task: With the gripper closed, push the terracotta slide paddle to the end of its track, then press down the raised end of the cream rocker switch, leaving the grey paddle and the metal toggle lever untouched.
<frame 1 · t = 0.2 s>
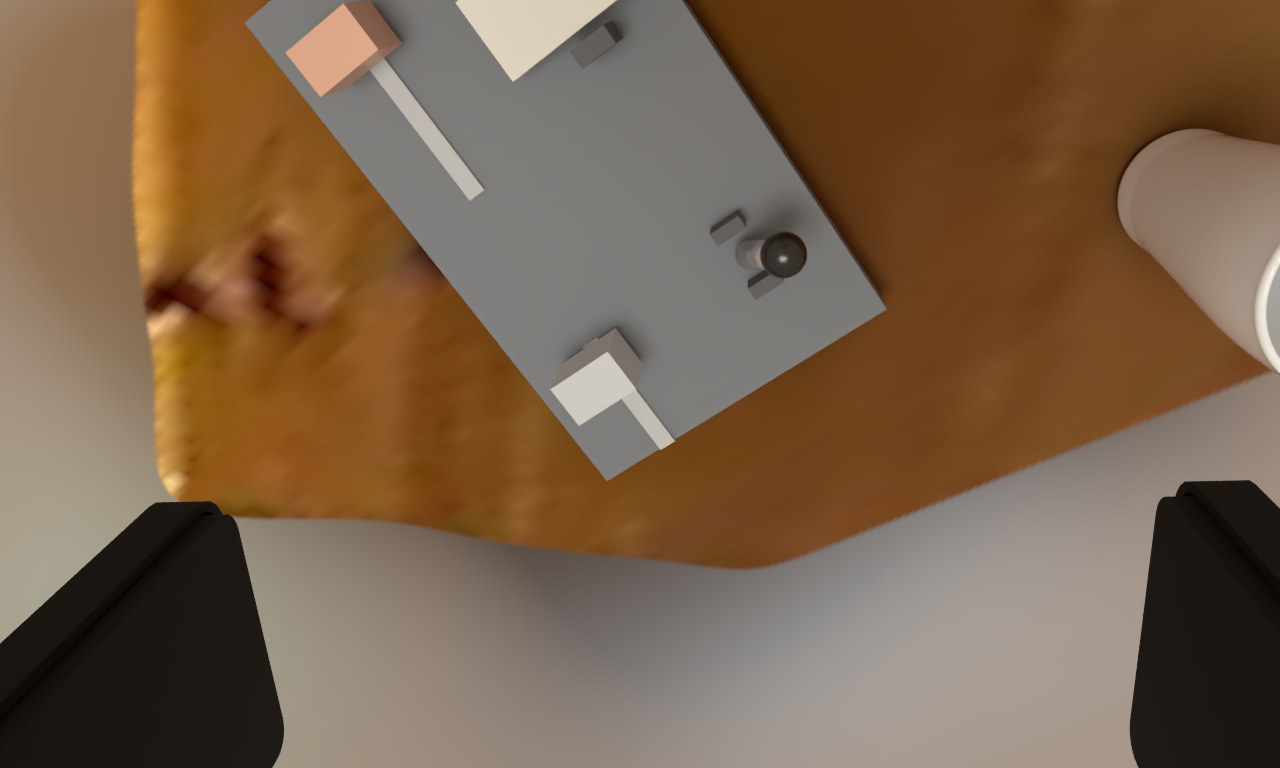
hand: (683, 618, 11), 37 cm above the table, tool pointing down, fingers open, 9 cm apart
slide paddle: (345, 48, 41), point 4 cm above the table, slide at 0.0 cm
switch panel: (580, 161, 46), on the table
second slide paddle: (597, 376, 45), point 4 cm above the table, slide at 0.0 cm
toggle lever: (769, 254, 42), point 5 cm above the table, hinge at -25.0°
drinking glass: (1176, 189, 44), on the table
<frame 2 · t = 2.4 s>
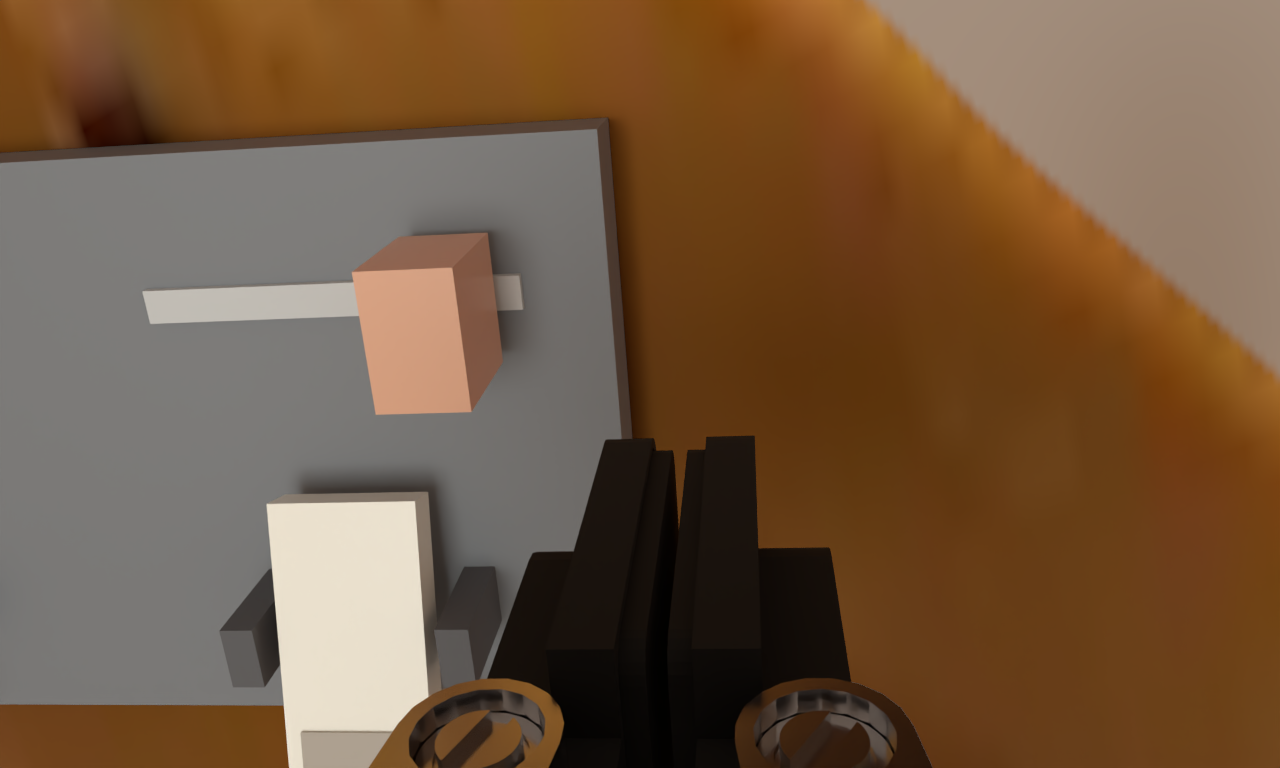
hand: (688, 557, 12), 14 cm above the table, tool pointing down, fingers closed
slide paddle: (433, 320, 22), point 4 cm above the table, slide at 0.0 cm
switch panel: (171, 428, 28), on the table
rocker switch: (358, 640, 25), point 4 cm above the table, hinge at 14.0°
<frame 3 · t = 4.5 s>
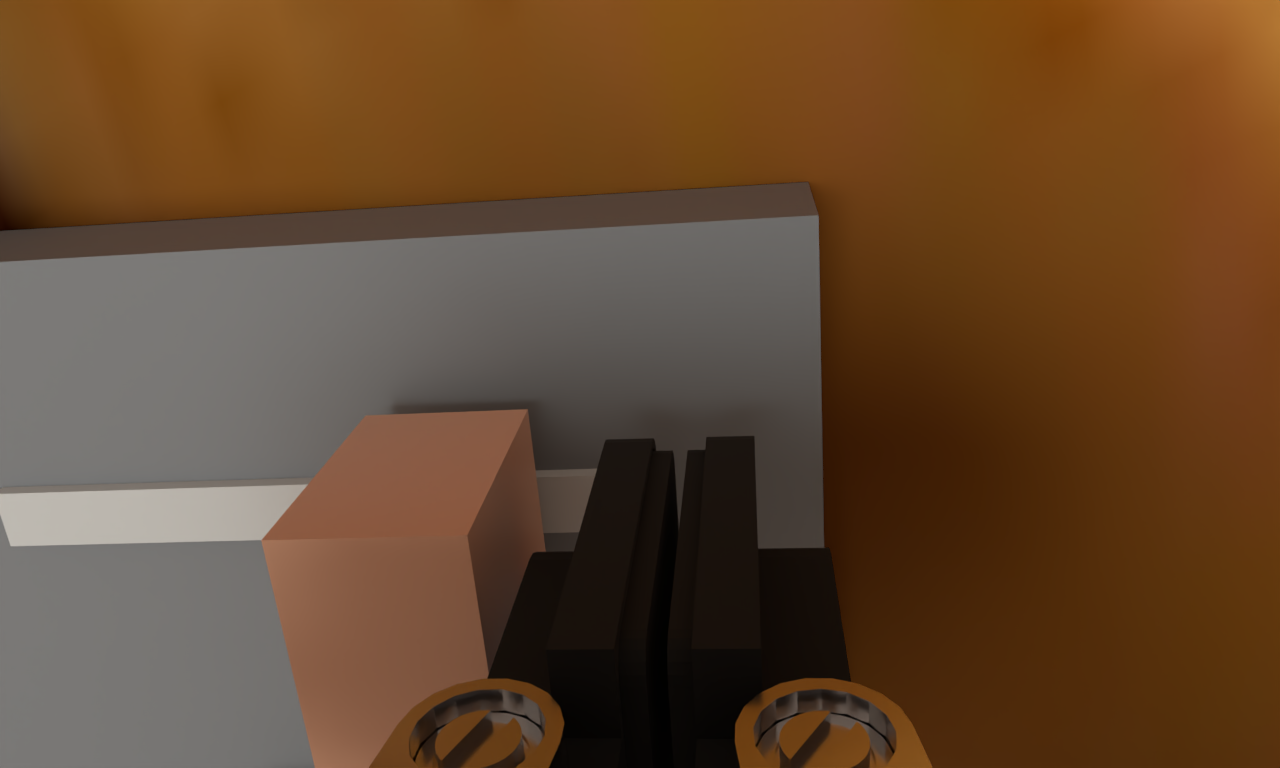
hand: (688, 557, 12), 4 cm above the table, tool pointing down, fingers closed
slide paddle: (430, 588, 12), point 4 cm above the table, slide at 1.0 cm, touching gripper
switch panel: (73, 667, 18), on the table
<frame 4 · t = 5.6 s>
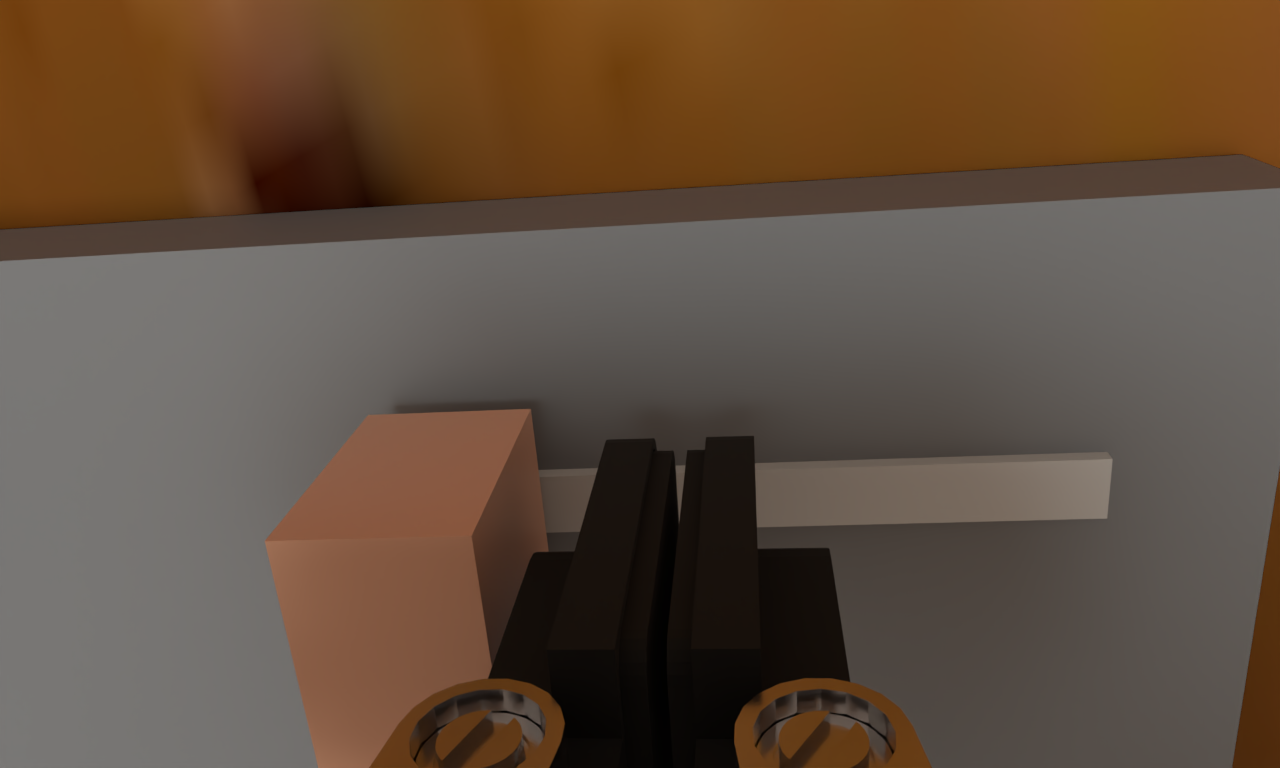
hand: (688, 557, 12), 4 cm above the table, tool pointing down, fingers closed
slide paddle: (433, 588, 12), point 4 cm above the table, slide at 6.3 cm, touching gripper
switch panel: (379, 663, 17), on the table
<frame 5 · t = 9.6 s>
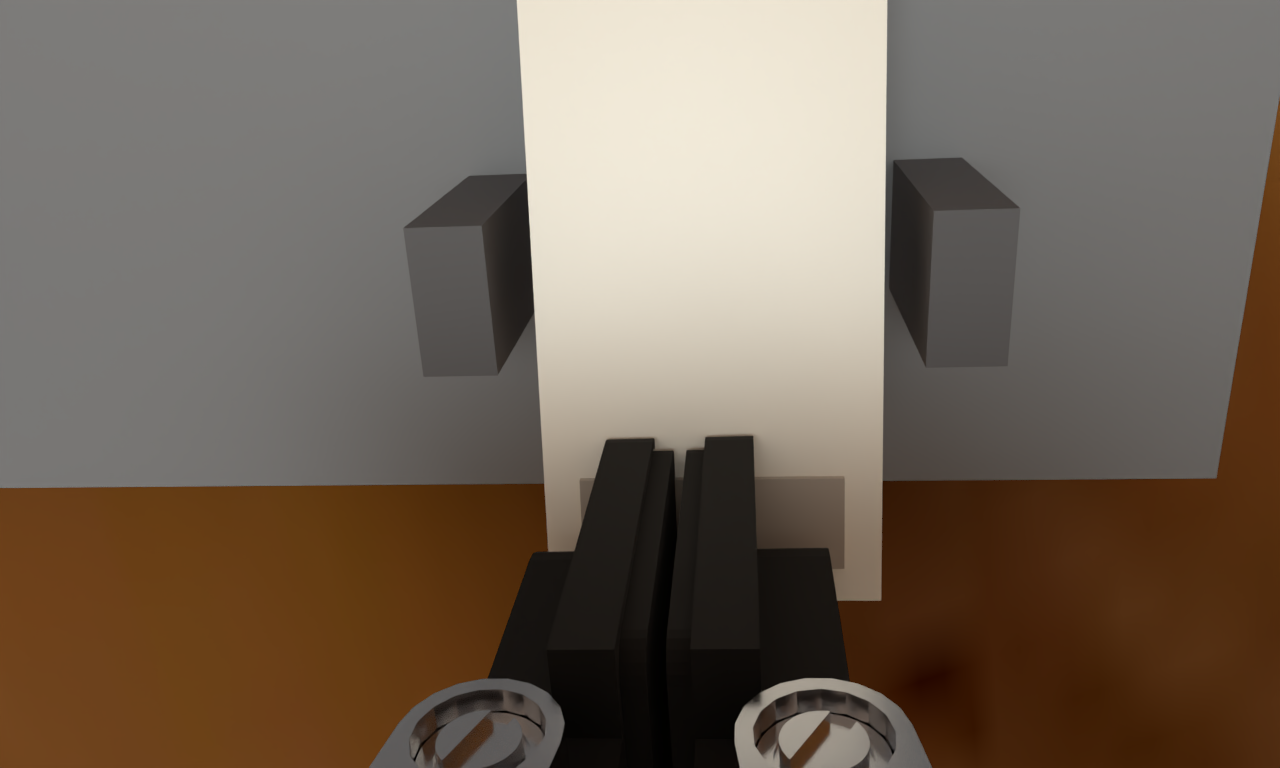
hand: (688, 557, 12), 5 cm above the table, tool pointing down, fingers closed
rocker switch: (707, 275, 11), point 4 cm above the table, hinge at 9.8°, touching gripper
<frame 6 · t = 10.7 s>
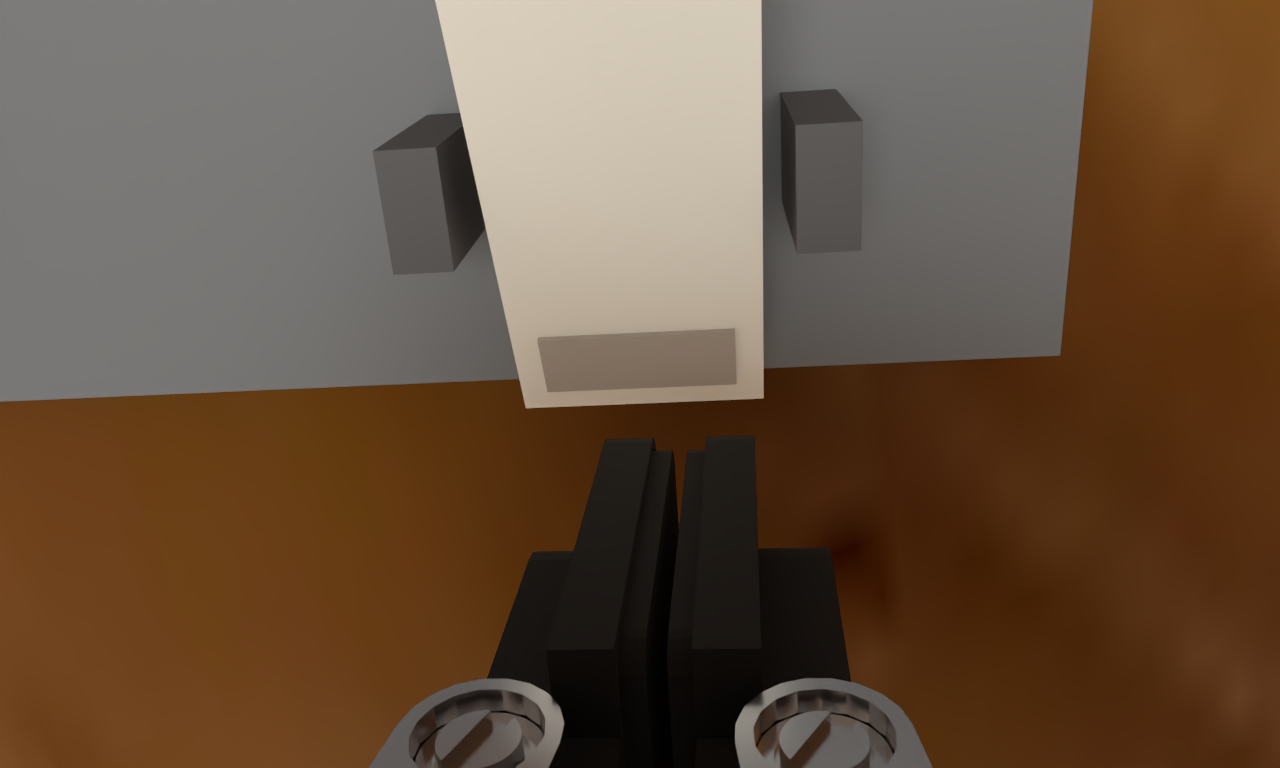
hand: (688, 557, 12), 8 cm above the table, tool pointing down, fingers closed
rocker switch: (622, 188, 14), point 4 cm above the table, hinge at -20.1°
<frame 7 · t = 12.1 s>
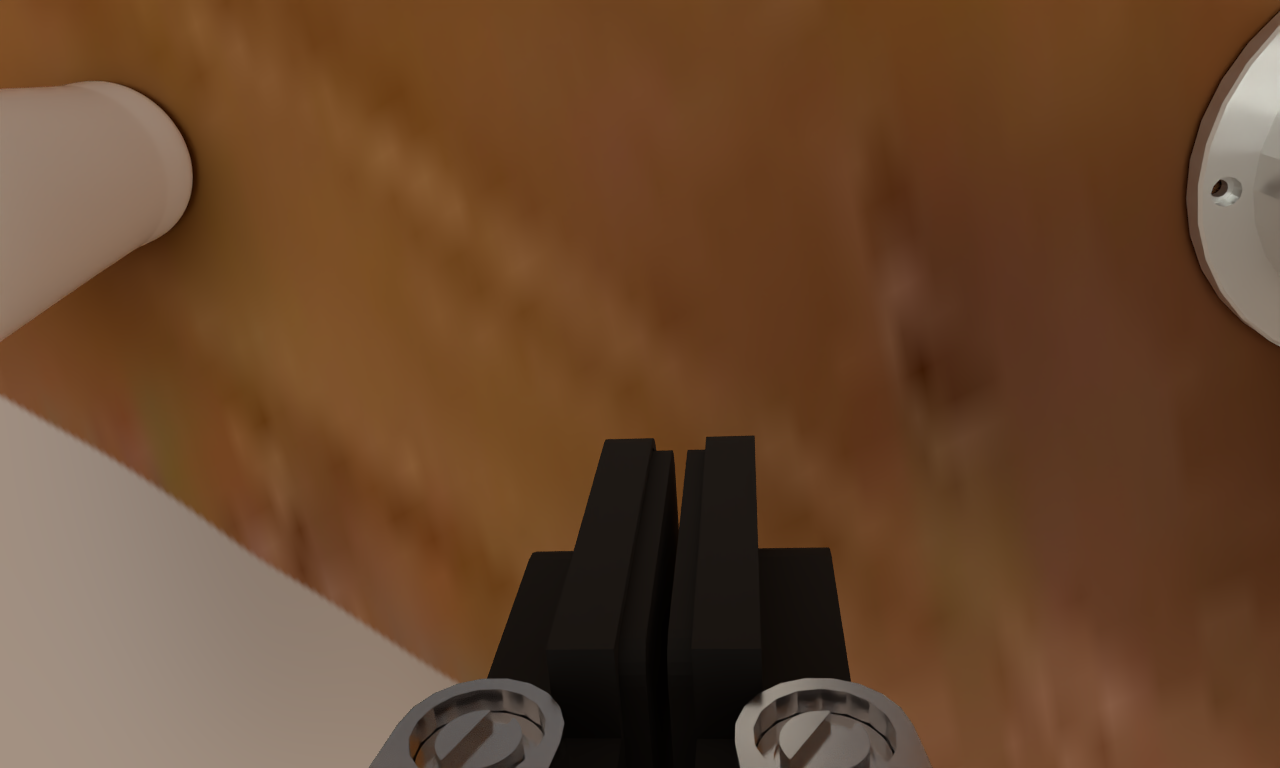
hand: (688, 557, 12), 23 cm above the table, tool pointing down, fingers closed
drinking glass: (125, 160, 35), on the table
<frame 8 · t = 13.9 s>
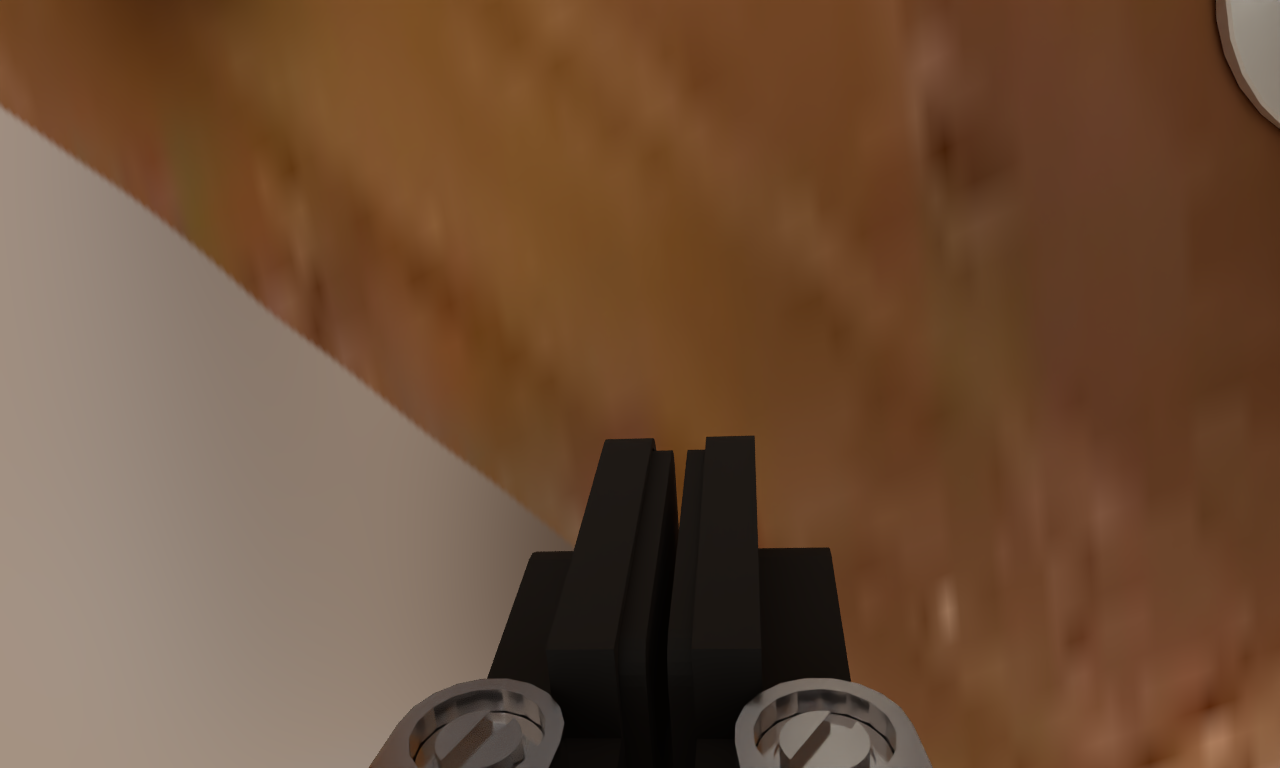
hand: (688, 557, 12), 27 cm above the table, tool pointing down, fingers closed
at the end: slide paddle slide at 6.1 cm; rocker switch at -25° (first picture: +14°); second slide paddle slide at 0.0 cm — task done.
